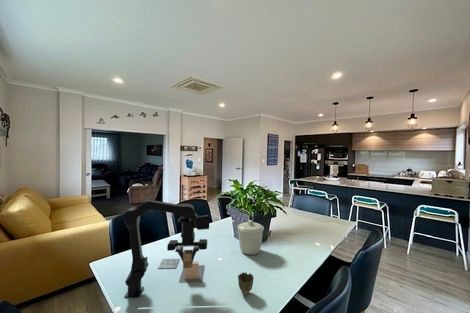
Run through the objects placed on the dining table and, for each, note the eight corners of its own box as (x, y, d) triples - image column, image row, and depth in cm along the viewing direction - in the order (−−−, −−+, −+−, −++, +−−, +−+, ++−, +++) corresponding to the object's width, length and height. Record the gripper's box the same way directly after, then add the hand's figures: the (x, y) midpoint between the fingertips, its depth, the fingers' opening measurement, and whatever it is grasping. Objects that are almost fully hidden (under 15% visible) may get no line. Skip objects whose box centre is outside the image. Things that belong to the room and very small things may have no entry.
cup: (235, 296, 96) (235, 279, 96) (240, 286, 103) (240, 270, 103) (250, 300, 94) (251, 282, 93) (255, 290, 100) (255, 274, 100)
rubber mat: (202, 283, 105) (202, 282, 105) (178, 283, 104) (178, 282, 104) (204, 266, 121) (204, 265, 121) (184, 266, 120) (184, 265, 120)
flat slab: (198, 278, 108) (198, 263, 108) (184, 279, 107) (184, 263, 107) (198, 276, 110) (198, 261, 110) (185, 276, 109) (185, 261, 109)
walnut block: (191, 267, 100) (191, 253, 100) (183, 268, 100) (183, 253, 100) (192, 263, 104) (192, 249, 104) (184, 263, 104) (184, 249, 104)
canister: (267, 257, 133) (267, 224, 133) (239, 258, 130) (240, 225, 130) (259, 244, 151) (259, 216, 151) (234, 246, 148) (235, 216, 148)
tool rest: (176, 269, 117) (176, 267, 117) (157, 269, 116) (157, 268, 116) (179, 260, 127) (179, 258, 127) (162, 260, 126) (162, 258, 126)
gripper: (208, 224, 110) (207, 253, 111) (172, 225, 109) (172, 254, 109) (206, 232, 99) (206, 264, 100) (166, 233, 98) (167, 266, 98)
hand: (187, 261), depth 102 cm, fingers closed on walnut block, 4 cm apart
